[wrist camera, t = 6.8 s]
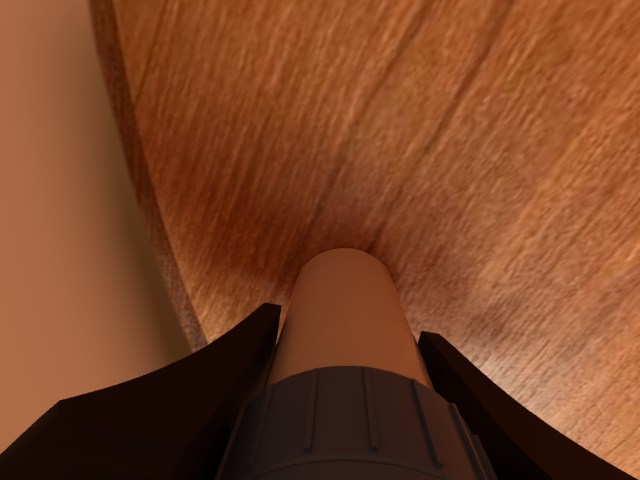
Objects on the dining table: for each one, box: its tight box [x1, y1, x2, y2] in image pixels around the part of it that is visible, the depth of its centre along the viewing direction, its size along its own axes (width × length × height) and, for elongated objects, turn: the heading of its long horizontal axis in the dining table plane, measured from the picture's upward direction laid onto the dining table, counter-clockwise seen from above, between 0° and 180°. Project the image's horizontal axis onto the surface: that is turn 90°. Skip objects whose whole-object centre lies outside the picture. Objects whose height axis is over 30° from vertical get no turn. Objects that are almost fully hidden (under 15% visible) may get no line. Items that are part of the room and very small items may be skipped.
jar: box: [262, 248, 435, 391], centre depth 10 cm, size 5×5×10 cm
